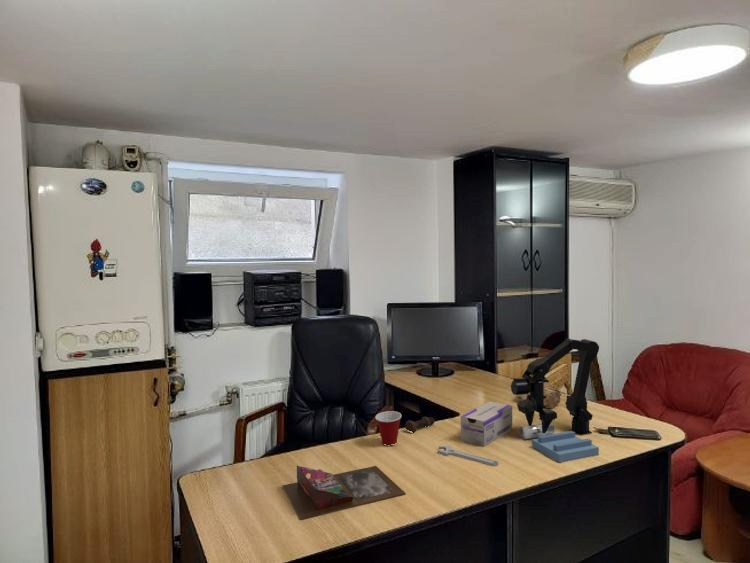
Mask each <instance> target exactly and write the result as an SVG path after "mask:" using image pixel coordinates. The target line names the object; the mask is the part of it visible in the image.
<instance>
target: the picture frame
mask: <svg viewBox="0 0 750 563" xmlns="http://www.w3.org/2000/svg"><path fill="white" fill-rule="evenodd" d="M308 474H309V478H308V477H307V475H308ZM281 488H282V489H283V491H284V493H285V494H286V496H287V498H288V500H289V502H290V504H291V506H292V508H293V509H294V511H295V513H296V515H297V516H298V518H299V520H300V521H303V520H307V519H312V518H316V517H317V518H318V517H321V516H324V515H328V514H332V513H337V512H340V511H345V510H348V509H349V510H350V509H353V508H357V507H361V506H365V505H368V504H373V503H377V502H381V501H385V500H389V499H394V498H397V497H402V496H406V495H407V494H406V492H405V491H404V490H403V489H402V488H401V487H400V486H399V485H398V484H396V483H395V481H394V480H392V479H391V478H390V477H389V476H388V475H387V474H386V473H384V472H383V471H382V470H381V469H380V468H379V467H377V465H373V466H368V467H364V468H359V469H355V470H354V469H353V470H349V471H344V472H339V473H335V474H333V473H330V472H326V471H323V470H322V469H320V468H319V469H314V468H310V467H305V466H299V465H296V482H292V483H287V484H283V485H282V486H281Z"/></svg>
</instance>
